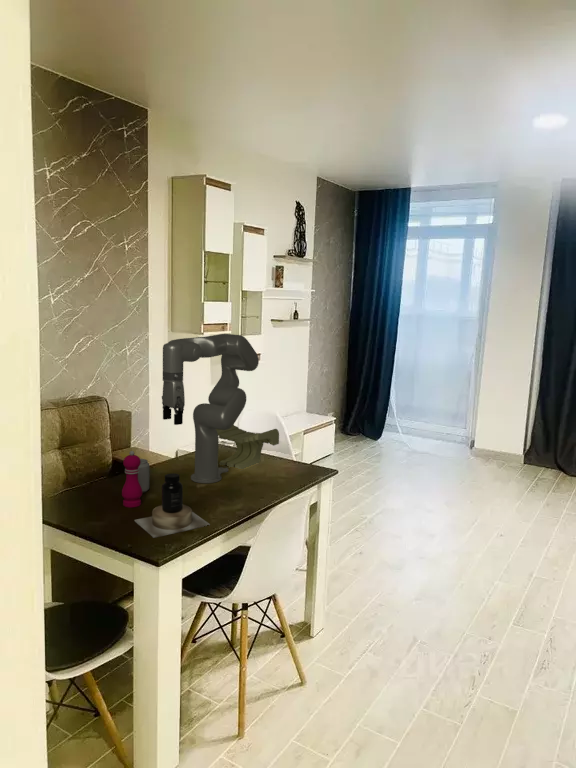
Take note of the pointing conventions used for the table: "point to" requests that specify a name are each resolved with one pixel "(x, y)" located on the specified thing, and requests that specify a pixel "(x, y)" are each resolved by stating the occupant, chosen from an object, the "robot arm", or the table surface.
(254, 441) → the slatted curved stool
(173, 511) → the supplement bottle
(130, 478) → the pepper mill
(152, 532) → the pedestal
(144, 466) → the can
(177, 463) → the table surface
